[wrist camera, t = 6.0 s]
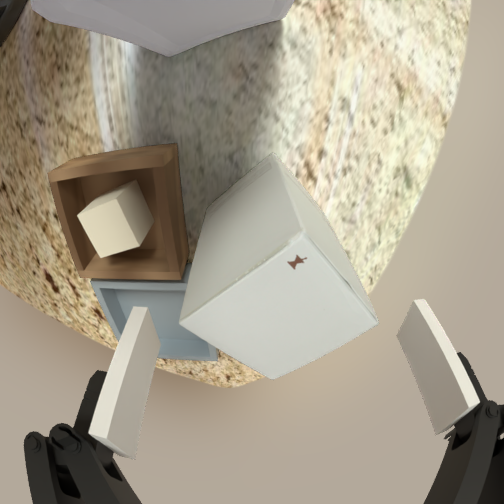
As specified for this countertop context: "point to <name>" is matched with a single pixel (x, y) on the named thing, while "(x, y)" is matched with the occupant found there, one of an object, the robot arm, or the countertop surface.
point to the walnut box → (158, 201)
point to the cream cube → (117, 219)
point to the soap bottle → (163, 19)
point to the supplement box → (273, 276)
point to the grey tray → (154, 313)
